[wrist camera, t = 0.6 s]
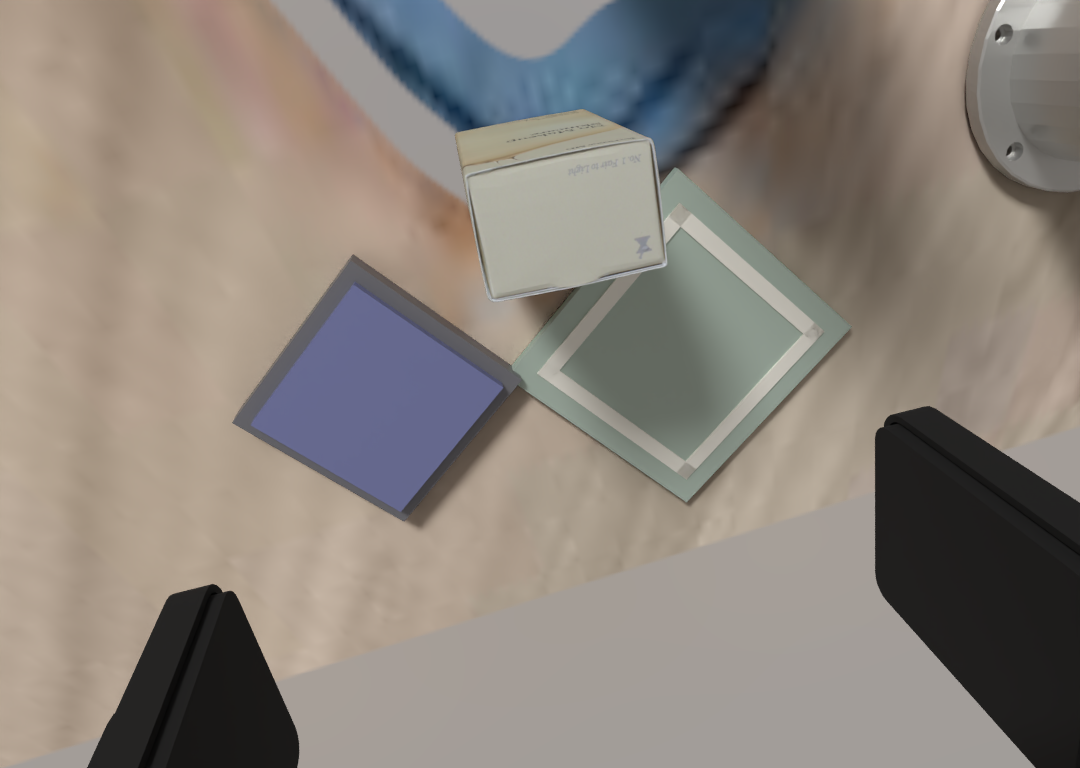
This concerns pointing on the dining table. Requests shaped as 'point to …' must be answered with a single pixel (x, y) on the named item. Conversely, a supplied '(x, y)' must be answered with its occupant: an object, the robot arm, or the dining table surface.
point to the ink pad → (377, 391)
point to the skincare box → (561, 203)
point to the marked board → (682, 346)
